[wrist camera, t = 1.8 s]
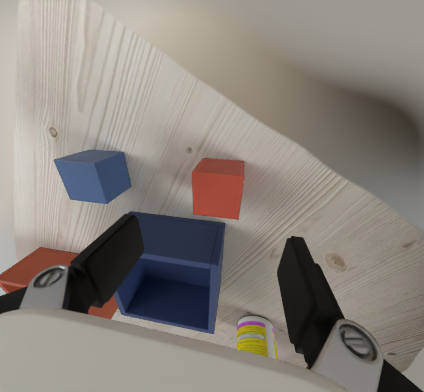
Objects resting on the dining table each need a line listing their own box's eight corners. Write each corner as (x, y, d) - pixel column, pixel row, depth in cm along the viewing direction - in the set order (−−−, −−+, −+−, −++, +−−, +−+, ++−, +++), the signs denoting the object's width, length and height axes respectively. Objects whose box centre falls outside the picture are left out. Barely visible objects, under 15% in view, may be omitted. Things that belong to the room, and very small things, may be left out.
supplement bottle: (230, 320, 33) (223, 431, 22) (256, 309, 30) (263, 431, 19) (254, 336, 34) (259, 448, 23) (281, 327, 31) (302, 452, 20)
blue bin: (145, 274, 30) (121, 314, 24) (130, 211, 24) (92, 245, 18) (220, 287, 29) (213, 334, 23) (225, 222, 22) (218, 265, 16)
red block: (202, 194, 21) (193, 214, 17) (202, 157, 19) (191, 171, 15) (239, 197, 20) (238, 219, 16) (244, 160, 18) (244, 176, 14)
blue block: (100, 183, 22) (70, 199, 19) (89, 149, 20) (53, 159, 16) (131, 186, 22) (106, 204, 18) (123, 151, 20) (94, 163, 16)
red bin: (67, 291, 38) (34, 324, 32) (39, 247, 32) (-7, 279, 26) (121, 302, 37) (98, 339, 31) (104, 257, 30) (70, 295, 24)
